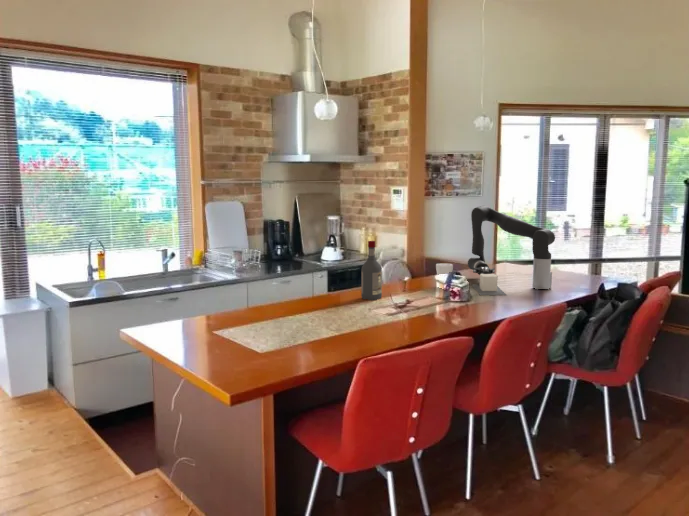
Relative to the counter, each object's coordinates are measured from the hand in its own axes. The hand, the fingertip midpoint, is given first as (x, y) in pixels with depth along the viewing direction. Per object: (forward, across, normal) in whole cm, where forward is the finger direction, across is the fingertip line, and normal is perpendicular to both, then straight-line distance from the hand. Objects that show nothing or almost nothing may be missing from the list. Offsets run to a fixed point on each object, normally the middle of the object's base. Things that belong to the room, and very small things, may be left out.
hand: (486, 273), depth 328 cm
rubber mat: (+5, 0, +9) cm, 10 cm away
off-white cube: (+1, 0, +4) cm, 4 cm away
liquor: (+28, -64, +9) cm, 71 cm away
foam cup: (-3, -23, +9) cm, 25 cm away
